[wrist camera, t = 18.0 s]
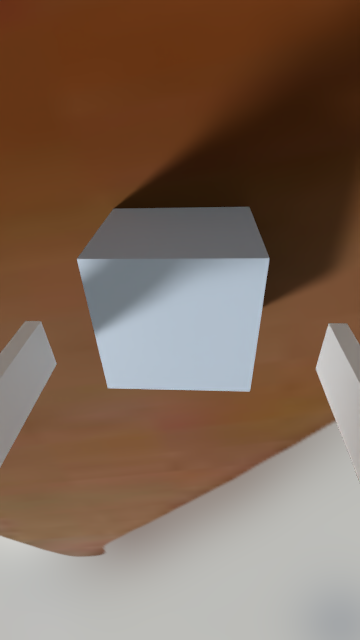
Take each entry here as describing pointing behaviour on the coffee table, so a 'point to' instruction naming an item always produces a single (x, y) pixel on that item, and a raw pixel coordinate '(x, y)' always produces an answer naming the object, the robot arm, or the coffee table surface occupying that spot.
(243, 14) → the coffee table surface
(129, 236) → the slate block
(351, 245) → the coffee table surface
